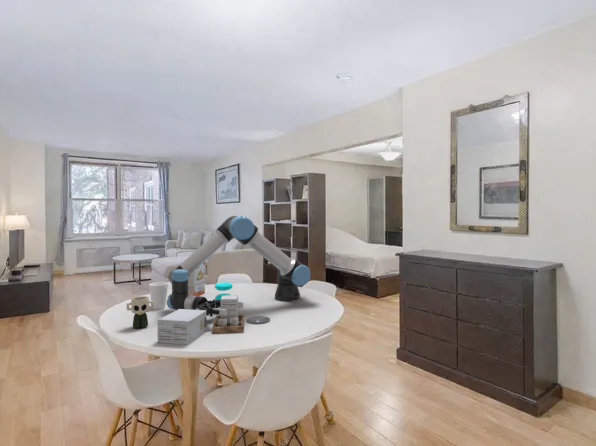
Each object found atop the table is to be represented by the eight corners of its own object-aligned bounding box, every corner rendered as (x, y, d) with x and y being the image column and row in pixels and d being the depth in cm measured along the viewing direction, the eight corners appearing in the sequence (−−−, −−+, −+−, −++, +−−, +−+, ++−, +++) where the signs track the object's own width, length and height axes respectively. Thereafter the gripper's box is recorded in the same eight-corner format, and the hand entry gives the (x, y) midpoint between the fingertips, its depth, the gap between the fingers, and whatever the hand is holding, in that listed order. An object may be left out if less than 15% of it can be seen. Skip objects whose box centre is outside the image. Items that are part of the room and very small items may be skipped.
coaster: (269, 316, 176) (269, 315, 176) (270, 323, 165) (270, 322, 165) (246, 317, 175) (246, 316, 175) (246, 324, 164) (246, 323, 164)
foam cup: (172, 307, 194) (171, 283, 194) (158, 311, 186) (158, 286, 185) (158, 305, 198) (158, 281, 198) (145, 309, 190) (145, 284, 189)
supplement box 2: (222, 322, 167) (222, 295, 167) (238, 321, 168) (238, 294, 168) (220, 327, 160) (220, 299, 160) (237, 326, 161) (237, 298, 160)
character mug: (126, 331, 155) (126, 301, 154) (127, 326, 161) (126, 297, 161) (154, 327, 159) (153, 298, 159) (153, 323, 166) (153, 295, 165)
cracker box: (194, 298, 214) (194, 263, 213) (185, 297, 215) (185, 262, 215) (205, 293, 228) (205, 260, 227) (196, 292, 229) (196, 259, 228)
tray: (244, 319, 171) (244, 309, 171) (243, 332, 153) (243, 320, 153) (216, 320, 169) (216, 310, 169) (212, 333, 151) (212, 321, 151)
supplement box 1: (188, 345, 139) (188, 321, 138) (157, 343, 141) (156, 319, 141) (207, 331, 155) (207, 309, 155) (178, 329, 158) (178, 308, 157)
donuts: (226, 281, 215) (235, 283, 207) (226, 297, 215) (235, 300, 208) (211, 283, 208) (220, 286, 201) (211, 300, 208) (220, 303, 201)
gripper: (212, 305, 182) (249, 310, 174) (178, 319, 159) (218, 325, 151) (212, 291, 182) (249, 294, 174) (178, 302, 159) (218, 307, 151)
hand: (234, 308), depth 163 cm, fingers open, 13 cm apart
